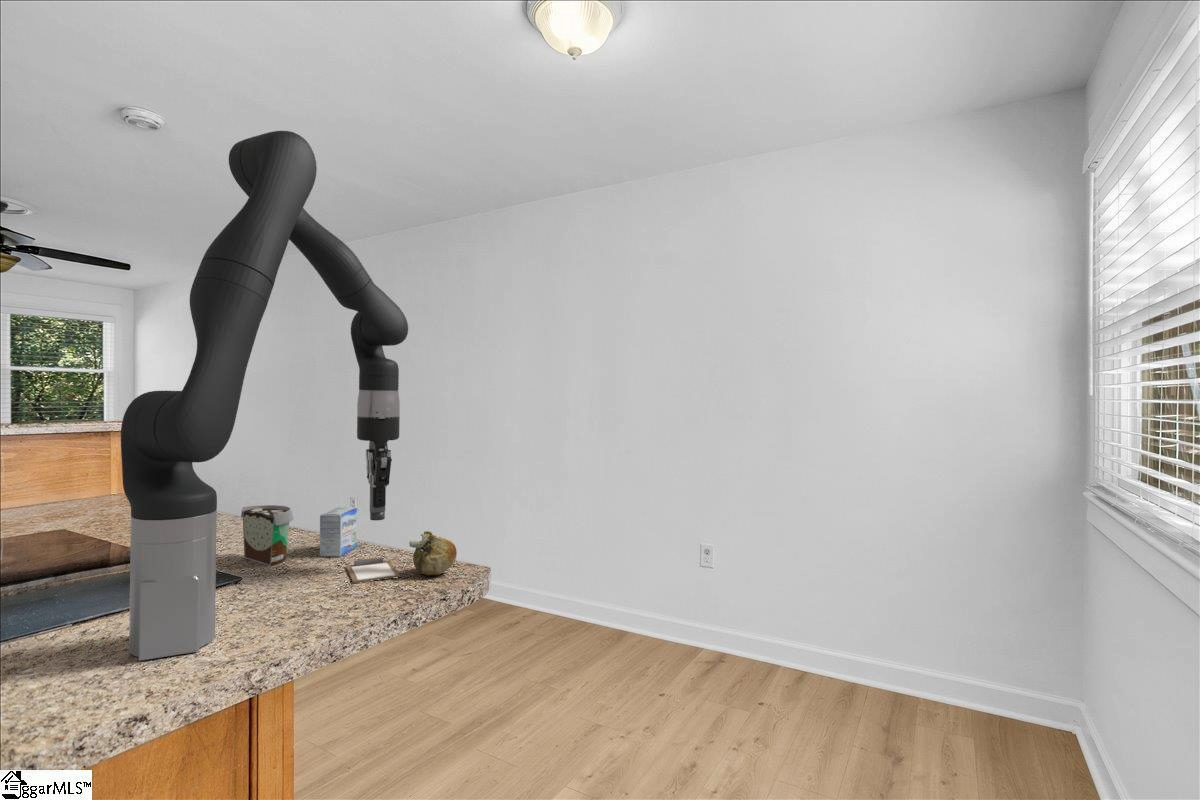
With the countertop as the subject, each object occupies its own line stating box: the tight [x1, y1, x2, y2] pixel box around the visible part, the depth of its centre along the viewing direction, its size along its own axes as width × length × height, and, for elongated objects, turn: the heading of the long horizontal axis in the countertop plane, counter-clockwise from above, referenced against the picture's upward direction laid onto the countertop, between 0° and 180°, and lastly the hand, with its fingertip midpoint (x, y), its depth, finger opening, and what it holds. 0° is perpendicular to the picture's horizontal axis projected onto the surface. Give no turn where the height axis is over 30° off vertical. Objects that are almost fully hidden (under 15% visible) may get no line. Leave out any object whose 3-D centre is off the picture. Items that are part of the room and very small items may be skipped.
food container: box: [240, 504, 294, 567], centre depth 119 cm, size 12×6×10 cm, turn 58°
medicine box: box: [319, 506, 358, 558], centre depth 125 cm, size 8×4×9 cm, turn 179°
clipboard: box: [345, 557, 402, 584], centre depth 112 cm, size 11×8×1 cm
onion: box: [408, 530, 457, 576], centre depth 112 cm, size 8×8×8 cm
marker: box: [369, 469, 386, 521], centre depth 114 cm, size 3×3×12 cm
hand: (377, 505), depth 114 cm, fingers closed on marker, 2 cm apart
